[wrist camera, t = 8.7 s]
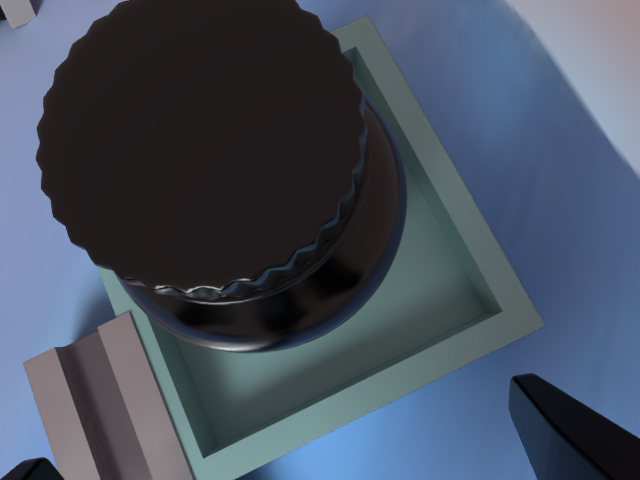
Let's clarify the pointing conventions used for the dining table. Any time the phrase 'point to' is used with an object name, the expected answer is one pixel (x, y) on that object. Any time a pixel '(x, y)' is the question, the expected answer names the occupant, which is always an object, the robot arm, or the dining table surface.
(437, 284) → the tray
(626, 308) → the dining table surface
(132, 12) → the supplement bottle
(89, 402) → the t-slot rail
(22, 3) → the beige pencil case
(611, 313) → the dining table surface
